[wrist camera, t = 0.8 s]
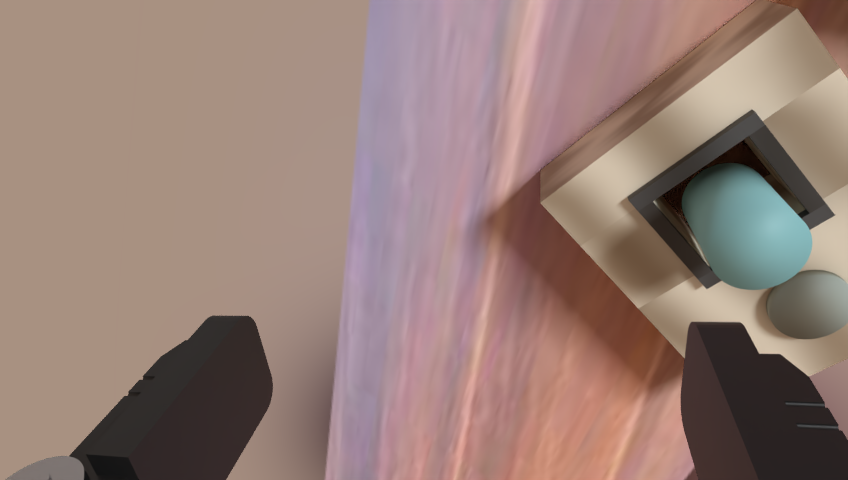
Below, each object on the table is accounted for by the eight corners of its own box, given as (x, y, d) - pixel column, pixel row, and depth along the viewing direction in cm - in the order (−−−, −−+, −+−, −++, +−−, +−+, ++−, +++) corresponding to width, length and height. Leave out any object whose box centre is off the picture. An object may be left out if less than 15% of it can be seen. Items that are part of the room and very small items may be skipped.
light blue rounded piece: (737, 146, 28) (778, 189, 23) (783, 203, 29) (831, 256, 24) (665, 195, 30) (689, 244, 25) (710, 248, 30) (742, 305, 26)
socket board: (758, -2, 29) (803, 9, 24) (936, 242, 33) (1006, 295, 28) (540, 170, 35) (540, 207, 30) (711, 358, 39) (736, 418, 34)
